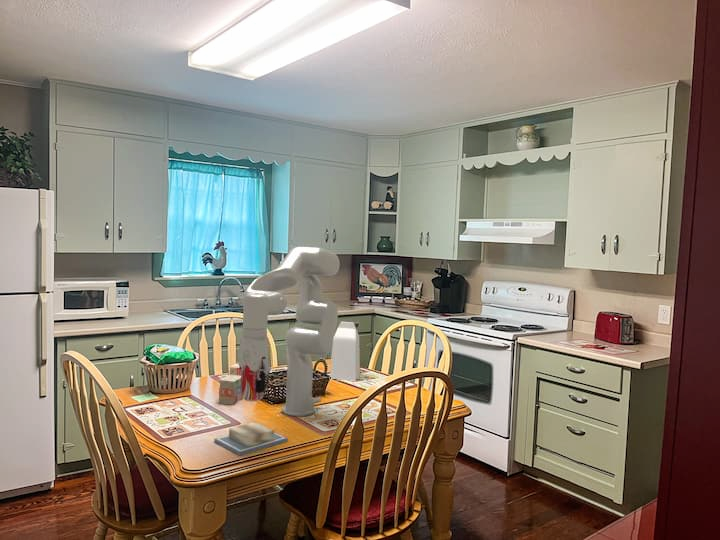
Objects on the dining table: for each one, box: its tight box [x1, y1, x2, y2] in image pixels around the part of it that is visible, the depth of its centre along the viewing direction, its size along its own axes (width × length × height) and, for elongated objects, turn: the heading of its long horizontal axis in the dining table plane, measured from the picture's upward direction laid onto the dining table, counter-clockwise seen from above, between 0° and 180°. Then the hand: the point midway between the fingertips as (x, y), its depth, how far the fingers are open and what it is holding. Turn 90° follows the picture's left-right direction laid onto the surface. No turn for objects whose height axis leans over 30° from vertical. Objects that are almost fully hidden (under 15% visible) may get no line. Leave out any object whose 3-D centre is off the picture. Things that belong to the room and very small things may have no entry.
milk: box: [329, 321, 361, 381], centre depth 260 cm, size 12×12×26 cm
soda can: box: [241, 363, 265, 402], centre depth 176 cm, size 7×7×12 cm
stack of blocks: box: [218, 362, 244, 406], centre depth 224 cm, size 21×6×12 cm, turn 168°
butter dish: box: [213, 421, 289, 456], centre depth 177 cm, size 18×14×4 cm
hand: (252, 388), depth 176 cm, fingers closed on soda can, 7 cm apart
